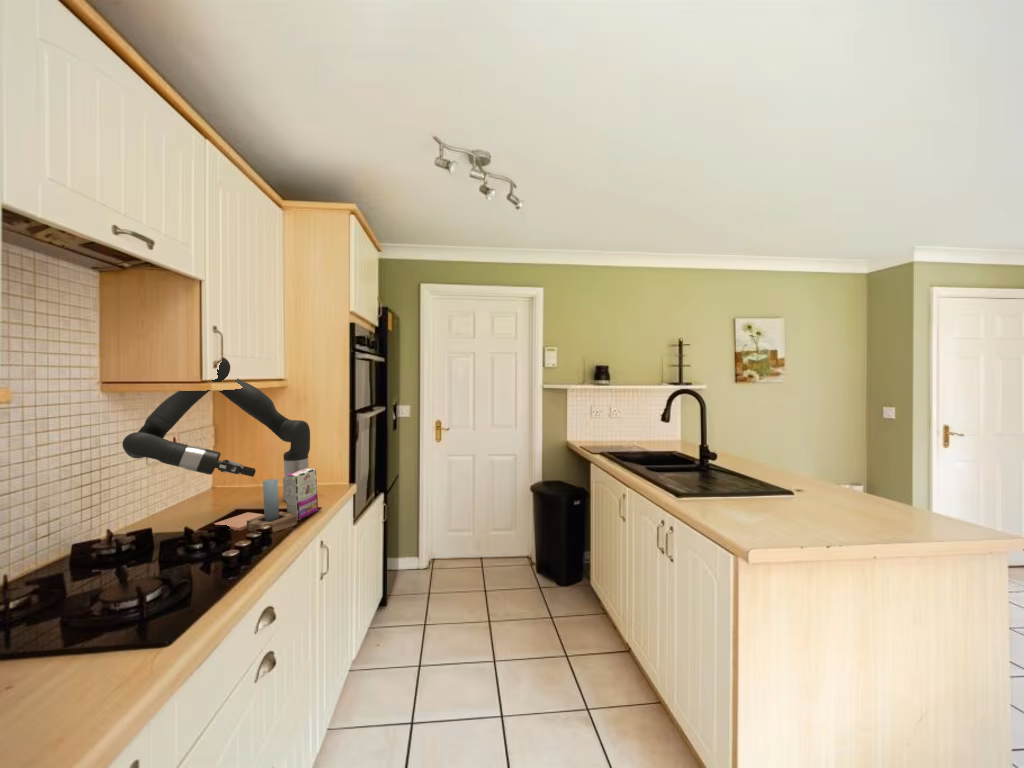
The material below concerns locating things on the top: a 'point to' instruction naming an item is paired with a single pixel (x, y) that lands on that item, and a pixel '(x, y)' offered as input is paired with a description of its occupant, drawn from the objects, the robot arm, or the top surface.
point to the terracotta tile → (238, 521)
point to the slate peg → (271, 500)
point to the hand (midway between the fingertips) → (254, 472)
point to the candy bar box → (302, 493)
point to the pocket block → (273, 522)
